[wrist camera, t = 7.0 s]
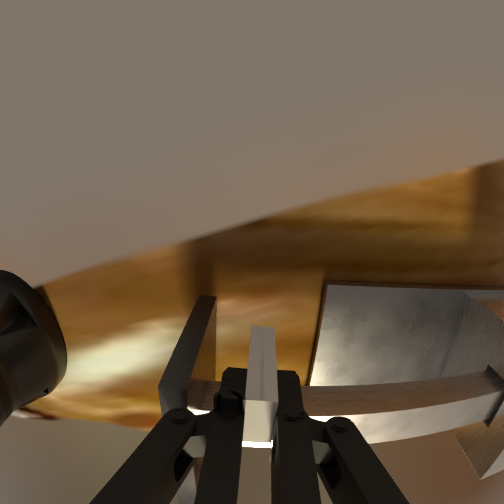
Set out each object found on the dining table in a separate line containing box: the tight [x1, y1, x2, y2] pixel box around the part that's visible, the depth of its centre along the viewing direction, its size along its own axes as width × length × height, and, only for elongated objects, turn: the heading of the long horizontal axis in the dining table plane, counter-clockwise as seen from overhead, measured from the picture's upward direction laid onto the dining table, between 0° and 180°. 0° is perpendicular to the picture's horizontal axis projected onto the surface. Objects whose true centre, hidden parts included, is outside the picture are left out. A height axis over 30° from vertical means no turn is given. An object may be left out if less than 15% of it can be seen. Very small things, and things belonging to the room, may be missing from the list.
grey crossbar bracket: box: [158, 295, 504, 504], centre depth 18 cm, size 27×12×10 cm, turn 86°
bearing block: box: [307, 280, 504, 479], centre depth 19 cm, size 26×13×13 cm, turn 86°
